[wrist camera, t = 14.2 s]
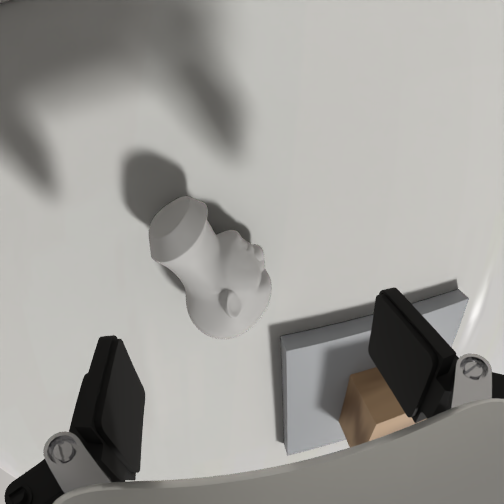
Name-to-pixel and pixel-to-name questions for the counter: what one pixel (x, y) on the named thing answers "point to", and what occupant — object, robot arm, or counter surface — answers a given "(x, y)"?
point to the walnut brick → (370, 409)
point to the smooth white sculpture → (211, 269)
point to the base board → (340, 370)
